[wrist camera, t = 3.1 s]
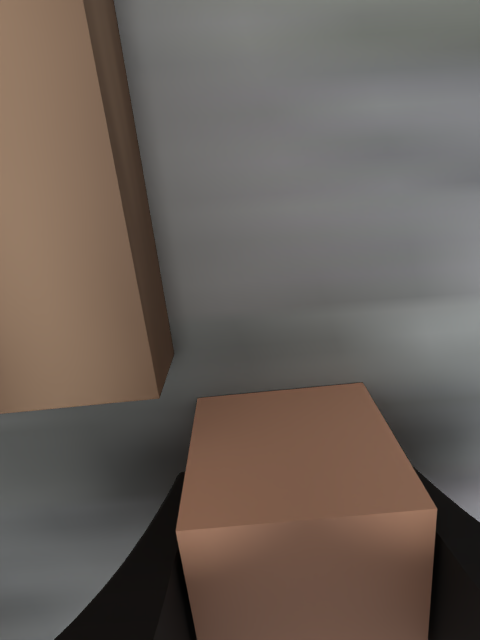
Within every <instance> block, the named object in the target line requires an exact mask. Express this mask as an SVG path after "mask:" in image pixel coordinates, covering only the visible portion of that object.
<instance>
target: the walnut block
mask: <svg viewBox="0 0 480 640" xmlns="http://www.w3.org/2000/svg"><path fill="white" fill-rule="evenodd" d="M173 356H174V350H173V344H172V338H171V332H170V326H169V321H168V315H167V309H166V303H165V297H164V292H163V286H162V280H161V274H160V268H159V262H158V257H157V251H156V245H155V239H154V233H153V227H152V222H151V216H150V210H149V204H148V198H147V193H146V187H145V181H144V175H143V169H142V163H141V158H140V152H139V146H138V140H137V134H136V129H135V123H134V117H133V111H132V105H131V99H130V94H129V88H128V82H127V76H126V70H125V65H124V59H123V53H122V47H121V41H120V35H119V30H118V24H117V18H116V12H115V6H114V1H113V0H0V414H3V413H14V412H24V411H34V410H45V409H55V408H65V407H76V406H86V405H96V404H107V403H117V402H128V401H138V400H148V399H159V398H160V395H161V392H162V389H163V386H164V383H165V380H166V377H167V374H168V371H169V368H170V365H171V362H172V359H173Z"/></svg>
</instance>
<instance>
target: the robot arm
mask: <svg viewBox="0 0 480 640" xmlns="http://www.w3.org/2000/svg"><path fill="white" fill-rule="evenodd" d="M412 467H413V466H412ZM413 469H414V470H415V472H416V474H417V475H418V477H419V479H420V480H421V482H422V484H423V485H424V487H425V489H426V491H427V492H428V494H429V496H430V497H431V499H432V501H433V502H434V504H435V506H436V507H437V519H436V533H435V546H434V560H433V574H432V588H431V601H430V615H429V629H428V640H480V522H478V521H477V520H476V519H474V518H473V517H472V516H470V515H469V514H468V513H467V512H465V511H464V510H463V509H462V508H460V507H459V506H458V505H457V504H456V503H454V502H453V501H452V500H451V499H450V498H448V497H447V496H446V495H445V494H444V493H442V492H441V491H440V490H439V489H438V488H436V487H435V486H434V485H433V484H432V483H431V482H430V481H429V480H427V479H426V478H425V477H424V476H423V475H422V474H421V473H420V472H418V471H417V470H416V469H415V468H414V467H413ZM184 477H185V472H181V473H180V474H179V475H178V476H177V478H176V480H175V482H174V484H173V485H172V487H171V489H170V491H169V493H168V495H167V497H166V498H165V500H164V502H163V504H162V505H161V507H160V509H159V510H158V512H157V514H156V515H155V517H154V518H153V520H152V522H151V523H150V525H149V526H148V528H147V530H146V531H145V533H144V534H143V536H142V537H141V538H140V540H139V541H138V543H137V544H136V546H135V547H134V548H133V550H132V551H131V553H130V554H129V556H128V557H127V558H126V560H125V561H124V562H123V564H122V565H121V566H120V568H119V569H118V570H117V571H116V573H115V574H114V575H113V577H112V578H111V579H110V580H109V581H108V583H107V584H106V585H105V586H104V587H103V589H102V590H101V591H100V592H99V593H98V594H97V595H96V597H95V598H94V599H93V600H92V601H91V602H90V603H89V604H88V606H87V607H86V608H85V609H84V610H83V611H82V612H81V613H80V614H79V615H78V616H77V618H76V619H75V620H74V621H73V622H72V623H71V624H70V625H69V626H68V627H67V628H66V629H65V630H64V631H63V632H62V633H61V634H60V635H58V636H57V637H56V638H55V639H54V640H197V637H196V632H195V627H194V622H193V616H192V611H191V606H190V601H189V596H188V591H187V586H186V581H185V576H184V571H183V566H182V561H181V556H180V551H179V546H178V541H177V536H176V526H177V520H178V514H179V508H180V502H181V496H182V490H183V483H184Z"/></svg>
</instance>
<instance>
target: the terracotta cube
mask: <svg viewBox="0 0 480 640" xmlns="http://www.w3.org/2000/svg"><path fill="white" fill-rule="evenodd" d="M436 519H437V507H436V506H435V504H434V502H433V501H432V499H431V497H430V496H429V494H428V492H427V491H426V489H425V487H424V485H423V484H422V482H421V480H420V479H419V477H418V475H417V474H416V472H415V470H414V469H413V467H412V465H411V463H410V462H409V460H408V458H407V457H406V455H405V453H404V452H403V450H402V448H401V447H400V445H399V443H398V441H397V440H396V438H395V436H394V435H393V433H392V431H391V430H390V428H389V426H388V425H387V423H386V421H385V419H384V418H383V416H382V414H381V413H380V411H379V409H378V408H377V406H376V404H375V403H374V401H373V399H372V397H371V396H370V394H369V392H368V391H367V389H366V387H365V386H364V384H363V383H352V384H342V385H331V386H321V387H310V388H299V389H289V390H278V391H267V392H257V393H246V394H235V395H225V396H214V397H203V398H197V405H196V411H195V417H194V423H193V429H192V435H191V441H190V447H189V453H188V459H187V465H186V471H185V477H184V483H183V490H182V496H181V502H180V508H179V514H178V520H177V526H176V536H177V541H178V546H179V551H180V556H181V561H182V566H183V571H184V576H185V581H186V586H187V591H188V596H189V601H190V606H191V611H192V616H193V622H194V627H195V632H196V637H197V640H428V629H429V615H430V601H431V588H432V574H433V560H434V546H435V533H436Z"/></svg>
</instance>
